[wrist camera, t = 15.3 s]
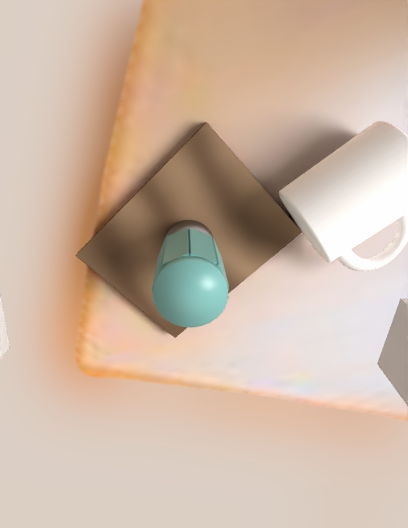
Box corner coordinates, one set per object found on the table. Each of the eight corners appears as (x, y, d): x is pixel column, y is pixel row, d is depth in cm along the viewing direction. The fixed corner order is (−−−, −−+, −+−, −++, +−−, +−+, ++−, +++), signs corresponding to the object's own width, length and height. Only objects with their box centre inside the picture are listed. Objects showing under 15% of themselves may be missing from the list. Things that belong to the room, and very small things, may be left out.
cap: (174, 293, 33) (172, 337, 26) (149, 243, 31) (139, 278, 24) (228, 271, 32) (238, 311, 26) (205, 220, 30) (211, 249, 24)
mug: (269, 184, 34) (292, 204, 27) (360, 118, 32) (411, 121, 25) (327, 271, 38) (360, 309, 31) (410, 218, 36) (467, 245, 29)
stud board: (206, 122, 32) (214, 126, 23) (298, 228, 36) (334, 265, 27) (79, 251, 36) (45, 295, 27) (175, 331, 40) (172, 391, 32)
